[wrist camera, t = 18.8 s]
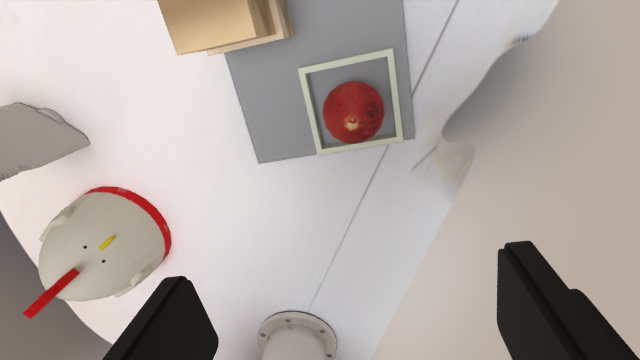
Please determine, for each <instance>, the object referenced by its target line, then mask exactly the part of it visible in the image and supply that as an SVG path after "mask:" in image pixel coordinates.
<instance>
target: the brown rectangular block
mask: <svg viewBox="0 0 640 360" xmlns="http://www.w3.org/2000/svg"><path fill="white" fill-rule="evenodd" d="M268 2H269V6H270V10H271V14H272V18H273V23H274V27H275V31H276V34H275V35H271V36H267V37H262V38H258V39H254V40H249V41H245V42H241V43H237V44H232V45H228V46H224V47H219V48H215V49H211V50H207V53H208V56H211V55H216V54H220V53H225V52H229V51H234V50H238V49H242V48H246V47H251V46H255V45H259V44H264V43H268V42H272V41H276V40H281V39H285V38H289V37H293V36H294V33H293V29H292V24H291V20H290V15H289V11H288V6H287V2H286V0H268Z"/></svg>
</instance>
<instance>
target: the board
mask: <svg viewBox="0 0 640 360" xmlns="http://www.w3.org/2000/svg"><path fill="white" fill-rule="evenodd" d="M286 2H287V6H288V11H289V15H290V20H291V24H292V29H293V33H294V36H293V37H289V38H285V39H281V40H276V41H272V42H268V43H264V44H259V45H255V46H251V47H246V48H242V49H238V50H234V51H229V52H225V53H224V54H225V57H226V61H227V64H228V67H229V70H230V73H231V77H232V80H233V83H234V86H235V90H236V93H237V96H238V99H239V102H240V106H241V109H242V112H243V115H244V118H245V122H246V125H247V128H248V131H249V134H250V138H251V141H252V144H253V147H254V150H255V154H256V157H257V160H258V163H259V164H261V163H267V162H273V161H279V160H285V159H292V158H298V157H304V156H310V155H316V154H317V151H316V147H315V142H314V138H313V134H312V129H311V125H310V121H309V116H308V112H307V107H306V103H305V99H304V94H303V90H302V86H301V81H300V77H299V72H298V68H299V67H302V66H307V65H311V64H316V63H321V62H325V61H330V60H335V59H339V58H344V57H348V56H353V55H358V54H362V53H367V52H372V51H376V50H381V49H385V48H390V47H392V48H393V53H394V62H395V71H396V80H397V89H398V98H399V107H400V116H401V125H402V134H403V140H408V139H414V138H415V131H414V120H413V110H412V99H411V89H410V78H409V68H408V57H407V47H406V36H405V26H404V15H403V5H402V0H286ZM307 74H308V78H309V83H310V87H311V92H312V97H313V101H314V106H315V110H316V115H317V120H318V124H319V129H320V133H321V138H322V142H323V145H325V144H331V143H337V142H341V141H340V140H338V139H336V138H335V137H333V136H332V135H331V134H330V132H329V131H328V129H327V128H326V126H325V122H324V119H323V115H322V113H323V104H324V101H325V99H326V98H327V96H328V94H329V92H330V91H332V90H333V89H334V88H336V87H337V86H338V85H340V84H343V83H346V82H350V81H356V82H364V83H366V84H368V85H370V86H371V87H373V88H375V89H376V91H377V92H378V93H379V95H380V96H381V98H382V99H383V103H384V109H385V115H384V119H383V122H382V126H381V128H380V129H379V130H378V132H377V133H376V134H375V135H374V136H378V135H384V134H390V133H395V126H394V117H393V109H392V101H391V92H390V84H389V76H388V68H387V59H386V57H382V58H377V59H373V60H368V61H363V62H358V63H354V64H349V65H344V66H339V67H335V68H330V69H325V70H321V71H316V72H311V73H307Z"/></svg>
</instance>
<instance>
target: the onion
mask: <svg viewBox="0 0 640 360" xmlns="http://www.w3.org/2000/svg"><path fill="white" fill-rule="evenodd" d="M322 115H323V119H324V122H325V126H326V128H327V129H328V131H329V132H330V134H331V135H332V136H333V137H335V138H336V139H338V140H340V141H341V142H343V143H349V144H357V143H362V142H365V141H366V140H368V139H370V138H372V137H374V135H375V134H376V133H377V132H378V130H379V129H380V128H381V126H382V122H383V119H384V115H385V109H384V103H383V99H382V98H381V96H380V95H379V93H378V92H377V91H376V89H375V88H373V87H371V86H370V85H368V84H366V83H364V82H356V81H350V82H346V83H343V84H340V85H338V86H337V87H336V88H334V89H333V90H332V91H330V92H329V94H328V96H327V98H326V99H325V101H324V104H323V113H322Z"/></svg>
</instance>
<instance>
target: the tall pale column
mask: <svg viewBox="0 0 640 360" xmlns="http://www.w3.org/2000/svg"><path fill="white" fill-rule="evenodd" d="M89 144H90V142H89V139H88V138H87V137H86V136H85V135H84V134H83V133H82V132H80V131H78V130H77V129H75V128H74V127H72V126H71V125H69V124H67V123H66V122H64V120H63V118H62V117H61V116H60V115H59V114H57V113H56V112H54V111H52V110H50V109H40V110H39V109H36V108H33V107H31V106H28V105H25V104H22V103H14V104H10V105H6V106H1V107H0V182H1V181H2V180H5V179H6V178H10V177H12V176H14V175H17V174H19V172H21V171H26V170H30V169H35V168H39V167H41V166H44V165H46V164H48V163H50V162H52V161H55V160H57V159H59V158H61V157H64V156H66V155H68V154H70V153H72V152H75V151H77V150H79V149H81V148H84V147H86V146H88V145H89Z"/></svg>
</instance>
